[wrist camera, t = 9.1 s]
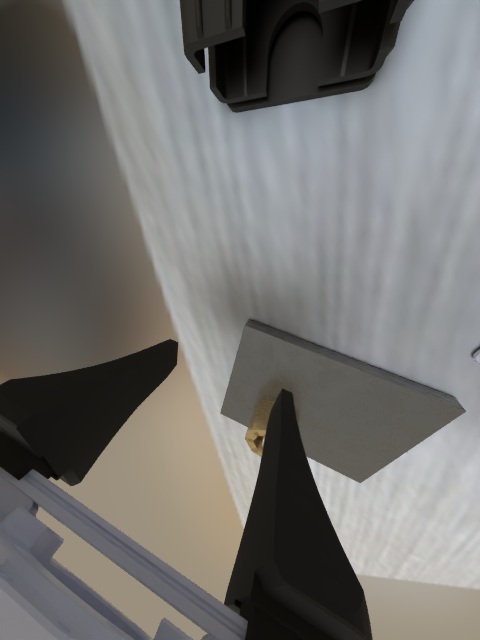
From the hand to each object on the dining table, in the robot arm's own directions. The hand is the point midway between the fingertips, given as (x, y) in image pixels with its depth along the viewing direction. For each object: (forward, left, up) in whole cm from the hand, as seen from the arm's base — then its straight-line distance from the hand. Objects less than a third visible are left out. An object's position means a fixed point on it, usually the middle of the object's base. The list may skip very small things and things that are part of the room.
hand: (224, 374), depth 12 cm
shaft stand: (-9, +9, -9) cm, 16 cm away
